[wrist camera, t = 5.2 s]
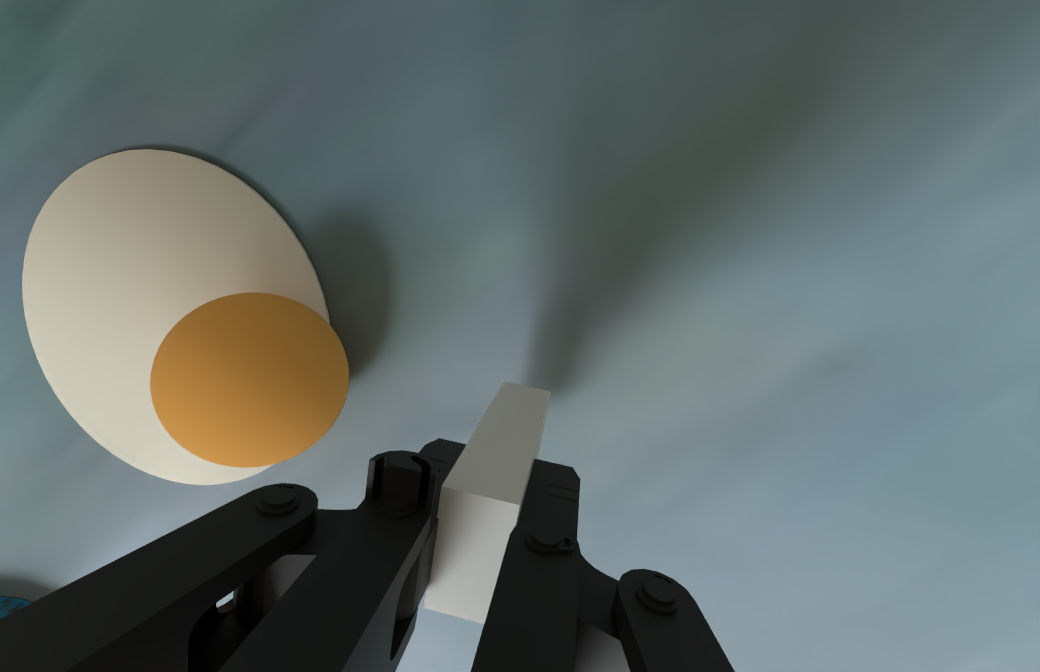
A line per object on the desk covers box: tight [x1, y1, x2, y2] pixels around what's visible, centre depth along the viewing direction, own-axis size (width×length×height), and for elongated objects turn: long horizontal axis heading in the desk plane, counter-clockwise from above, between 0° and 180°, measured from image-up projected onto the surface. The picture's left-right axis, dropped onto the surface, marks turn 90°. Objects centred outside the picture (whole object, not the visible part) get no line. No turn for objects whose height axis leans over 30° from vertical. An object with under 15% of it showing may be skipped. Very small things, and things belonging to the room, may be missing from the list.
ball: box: [150, 292, 349, 468], centre depth 16 cm, size 6×6×6 cm
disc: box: [22, 149, 330, 485], centre depth 19 cm, size 13×13×1 cm
